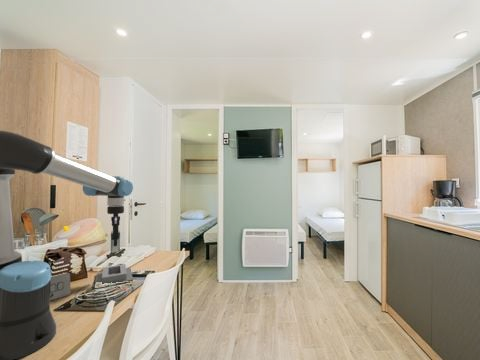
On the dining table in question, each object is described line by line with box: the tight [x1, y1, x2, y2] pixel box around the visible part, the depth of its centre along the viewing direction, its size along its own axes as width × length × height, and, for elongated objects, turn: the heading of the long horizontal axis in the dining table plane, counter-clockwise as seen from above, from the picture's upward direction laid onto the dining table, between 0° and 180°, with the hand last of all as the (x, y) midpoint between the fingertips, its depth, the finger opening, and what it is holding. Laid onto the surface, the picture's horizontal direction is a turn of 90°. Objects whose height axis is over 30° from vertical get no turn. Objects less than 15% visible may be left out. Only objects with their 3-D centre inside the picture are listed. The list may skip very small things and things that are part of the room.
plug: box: [110, 230, 121, 254], centre depth 112 cm, size 4×4×10 cm
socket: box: [94, 263, 134, 284], centre depth 111 cm, size 18×16×4 cm
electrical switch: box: [50, 272, 72, 302], centre depth 93 cm, size 9×5×9 cm, turn 141°
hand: (115, 250), depth 112 cm, fingers closed on plug, 4 cm apart
